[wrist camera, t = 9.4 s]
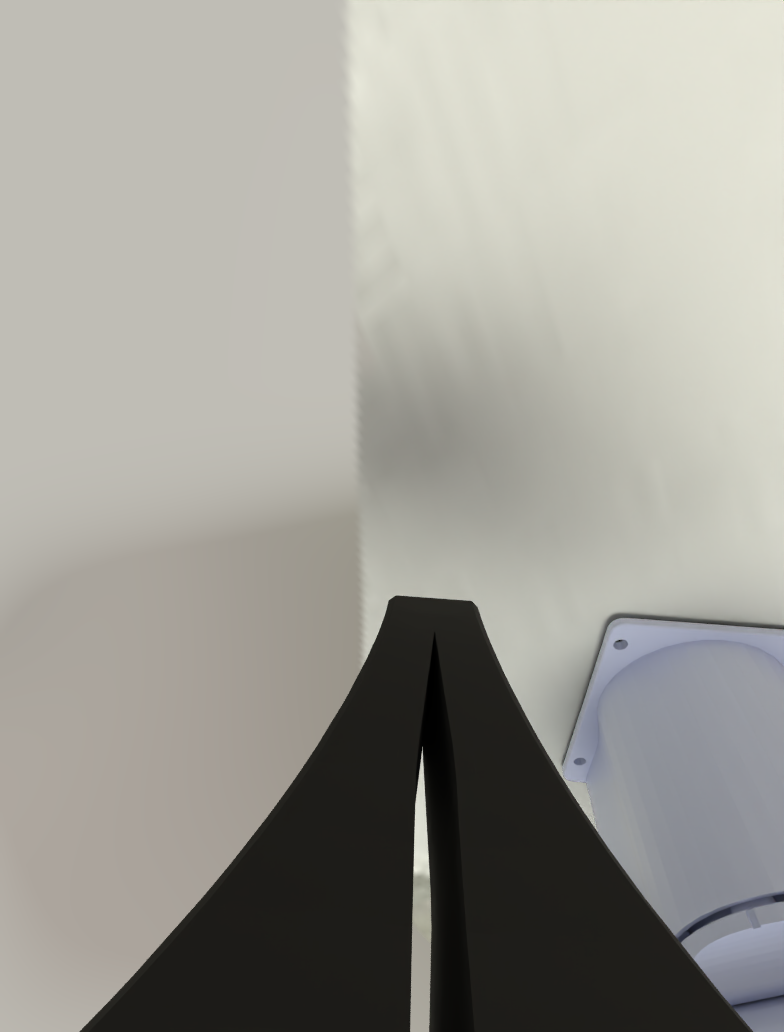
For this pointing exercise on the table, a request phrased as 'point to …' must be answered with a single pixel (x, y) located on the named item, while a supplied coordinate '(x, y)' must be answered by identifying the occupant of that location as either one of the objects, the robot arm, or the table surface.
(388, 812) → the robot arm
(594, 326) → the table surface
